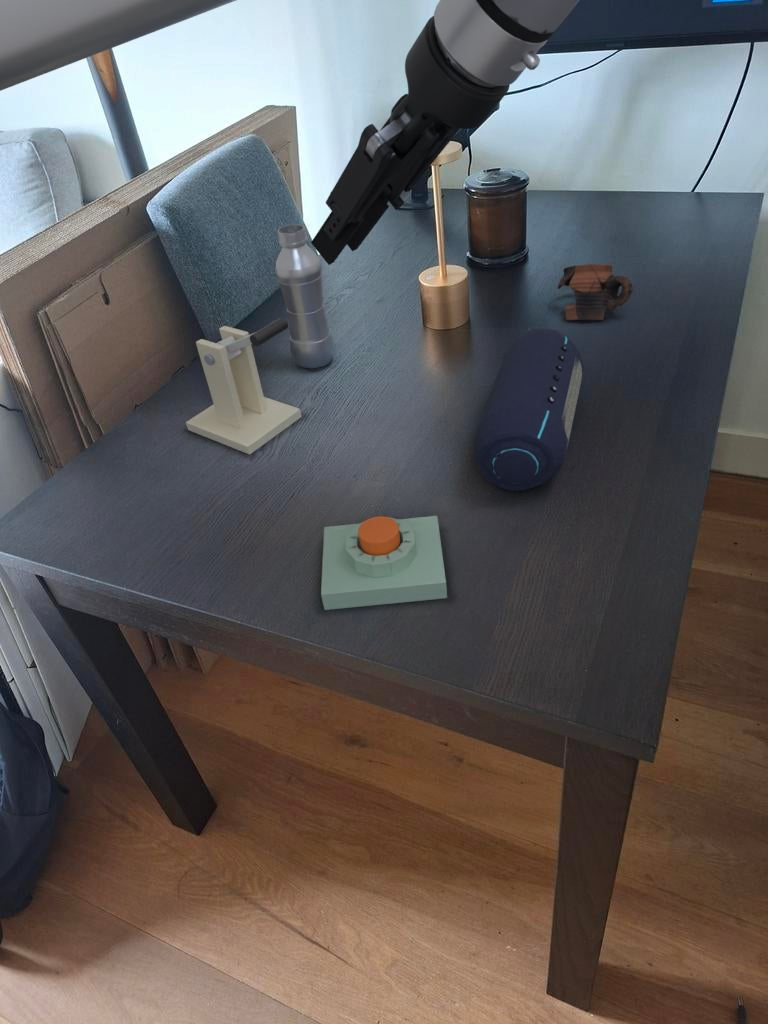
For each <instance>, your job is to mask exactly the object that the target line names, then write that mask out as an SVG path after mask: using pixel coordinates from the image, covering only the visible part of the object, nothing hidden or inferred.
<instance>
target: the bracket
mask: <svg viewBox="0 0 768 1024" xmlns="http://www.w3.org/2000/svg"><path fill="white" fill-rule="evenodd" d="M218 330H219V334H220V337H221V340H223V339H225V338H227V337H230V336H233V337H234V339H235V341H236V340H239V339H241V338H243V337H246V336H248V335H250V333H249V332H248V331H246V330H242V329H238V328H235V327H231V326H227V325H223V326H221V327H219V328H218ZM195 345H196V349H197V352H198V355H199V360H200V362H201V365H202V368H203V373H204V376H205V379H206V383H207V386H208V388H209V389H208V390H209V393H210V397H211V400H212V404H211V405H210V406H209V407H207V408H205V409H204V410H202V411H201V412H199V413H197V414H196V415H194V416H193V417H192V418H190V419H188V420H187V421H186V422H185V425H186V428H187V430H188V431H189V432H192V433H194V434H197V435H199V436H202V437H204V438H207V439H210V440H212V441H215V442H217V443H219V444H222V445H224V446H227V447H229V448H232V449H234V450H237V451H239V452H242V453H245V454H246V455H252V454H253V453H254V452H255V451H257V450H259V449H260V448H261V447H263V446H265V444H267V443H268V442H270V441H271V440H272V439H273V438H275V437H277V436H278V435H279V434H281V433H282V432H284V431H285V430H286V429H287V428H289V427H290V426H292V425H293V424H294V423H296V422H297V421H299V420H300V419H301V418H302V417H303V416H302V411H301V408H298V407H296V406H293V405H290V404H286V403H285V402H284V403H283V402H281V401H277V400H275V399H272V398H270V397H266V396H264V392H263V388H262V383H261V380H260V379H261V378H260V376H259V372H258V367H257V363H256V359H255V354H254V350H253V347H252V346H253V345H252V344H251V345H249V346H246V347H244V348H241V349H240V350H241V352H242V353H241V354H239V355H237V356H236V357H234V358H232V359H231V360H229V359H228V355H227V352H226V348H225V346H223V345H220V344H217V342H213V341H210V340H208V339H207V340H206V339H203V338H201V339H199V340H196V341H195Z"/></svg>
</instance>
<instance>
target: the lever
mask: <svg viewBox="0 0 768 1024" xmlns="http://www.w3.org/2000/svg"><path fill="white" fill-rule="evenodd" d="M288 327H289V322H288V321H287V319H285V318H284V317H279V318H277V319H276V320H274V321H272V322H271V323H269V324H267V325H266V326H264V327H261V328H260V329H259V330H257V331H255V332H253V333H249V335H248V336H246V337H243V338H241V339H239V340H236V341H235V339H234V337H233V336H230V337H227V338H225V339H223V340H222V339H221V340H219V341H217V342H216V343H217V344H220V345H223V346H225V348H226V352H227V355H228V359H229V360H231V359H232V358H234V357H236V356H237V355H239V354H241V353H242V352H241V350H240V349H241V348H244V347H246V346H249V345H251V346H254V347H259V346H261V345H262V344H265V343H266V342H267V341H269V340H270V339H273V338H274V337H275V336H277V335H279V334H280V333H282V332H283V331H286V330H287V329H288Z"/></svg>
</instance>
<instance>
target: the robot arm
mask: <svg viewBox="0 0 768 1024" xmlns="http://www.w3.org/2000/svg"><path fill="white" fill-rule="evenodd" d="M236 1H237V0H0V91H4V90H7V89H8V88H11V87H12V88H13V87H14V86H17V85H20V84H21V83H24V82H27V81H30V80H32V79H34V78H38V77H40V76H43V75H45V74H48V73H50V72H54V71H56V70H58V69H61V68H63V67H66V66H69V65H72V64H74V63H77V62H79V61H82V60H85V59H87V58H89V57H92V56H95V55H98V54H100V53H103V52H105V51H108V50H111V49H114V48H116V47H119V46H121V45H123V44H126V43H129V42H131V41H134V40H137V39H139V38H142V37H145V36H148V35H150V34H152V33H155V32H158V31H160V30H163V29H165V28H168V27H171V26H173V25H176V24H178V23H181V22H183V21H186V20H189V19H192V18H194V17H198V16H200V15H202V14H205V13H208V12H209V11H213V10H215V9H218V8H220V7H223V6H225V5H229V4H232V3H233V2H236ZM580 1H581V0H439V1H438V3H437V4H436V6H435V9H434V12H433V15H432V16H431V17H430V18H429V19H428V20H427V21H426V23H425V24H424V27H423V28H422V30H421V31H420V33H419V34H418V36H417V37H416V39H415V41H414V43H413V44H412V46H411V47H410V49H409V50H408V52H407V55H406V56H405V62H404V73H405V79H406V83H407V93H404V94H403V95H402V96H400V98H399V99H398V100H397V102H396V103H394V105H393V106H392V109H391V111H390V112H391V113H390V116H389V117H388V119H387V120H386V121H385V122H384V124H383V125H382V127H381V128H380V130H378V128H377V126H375V125H374V124H373V123H371V124H368V125H366V127H364V128H363V131H362V132H361V134H360V137H359V141H358V145H357V147H356V149H355V150H354V151H353V154H352V155H351V157H350V159H349V161H348V162H347V164H346V166H345V167H344V170H343V171H342V173H341V174H340V177H339V178H338V180H337V182H335V185H334V186H333V189H331V191H330V192H329V195H328V197H327V199H326V200H325V204H326V206H327V207H328V208H329V210H330V211H331V212H330V213H329V214H328V216H327V218H326V219H325V220H324V222H323V224H322V225H321V226H320V228H319V230H318V231H317V233H316V234H315V235H314V237H313V239H312V240H311V242H310V244H311V245H312V246H313V247H314V249H315V250H316V251H317V253H318V255H320V256H321V257H322V259H323V260H324V261H325V262H326V264H327V265H328V266H330V265H331V264H334V263H335V261H337V259H338V257H339V256H340V255H341V253H342V252H343V251H344V249H345V248H346V246H347V247H348V248H349V249H350V251H352V252H354V251H356V250H358V248H360V247H361V244H362V243H363V242H364V241H365V240H366V238H367V237H368V236H369V234H370V233H371V231H372V230H373V229H374V227H375V226H376V225H377V224H378V222H379V221H380V219H381V218H382V217H383V215H385V213H386V211H387V210H388V209H389V208H390V206H389V204H388V203H390V205H391V206H392V208H393V209H394V210H395V211H396V210H398V209H400V208H401V207H402V206H403V205H404V204H405V201H404V199H403V198H402V197H401V195H402V193H403V192H405V193H407V192H410V191H412V190H413V189H414V186H415V185H416V184H417V183H418V181H419V180H420V179H421V178H422V176H423V175H424V174H425V173H426V172H427V171H428V169H429V168H430V167H431V166H432V164H433V163H434V162H435V160H436V159H437V158H438V157H439V155H440V154H442V151H444V149H445V148H446V147H447V145H448V144H449V143H450V142H451V141H452V139H453V138H454V137H455V136H456V135H457V134H458V132H459V131H460V130H472V129H474V128H477V127H479V126H480V125H482V124H483V123H484V122H485V121H486V120H487V118H488V117H489V116H490V115H491V113H492V112H494V110H495V109H496V107H498V105H499V104H500V102H501V101H502V100H503V99H504V97H505V96H506V95H507V93H508V92H509V89H510V86H511V85H512V84H513V83H515V82H516V81H517V80H518V79H519V77H520V76H521V75H522V73H523V72H524V71H525V70H526V68H527V69H528V70H530V71H534V70H536V69H537V68H538V66H539V65H540V62H541V59H540V57H539V55H538V52H539V51H540V49H541V48H543V47H544V46H545V44H546V43H547V42H548V41H549V39H550V38H551V37H552V36H553V35H554V34H555V32H556V31H557V29H559V27H560V26H561V24H562V23H563V22H564V20H565V19H567V17H568V15H570V13H572V11H573V9H574V8H575V7H576V6H577V5H578V3H579V2H580Z"/></svg>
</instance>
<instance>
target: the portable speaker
mask: <svg viewBox="0 0 768 1024" xmlns="http://www.w3.org/2000/svg"><path fill="white" fill-rule="evenodd" d="M584 368H585V367H584V362H583V358H582V355H581V352H580V351H579V349H578V347H577V345H576V344H575V343H574V342H573V341H572V340H571V339H570V338H569V337H567V336H566V335H565V334H563V333H561V332H559V331H558V330H556V329H551V328H546V327H545V328H544V327H543V328H541V327H540V328H535V329H531V330H529V331H526V332H524V333H523V334H521V335H520V336H519V337H517V339H516V340H515V341H514V342H513V343H511V345H510V347H509V349H508V350H507V352H506V353H505V355H504V356H503V359H502V361H501V365H500V367H499V370H498V372H497V375H496V379H495V381H494V383H493V386H492V389H491V392H490V395H489V397H488V401H487V403H486V405H485V408H484V411H483V414H482V416H481V419H480V422H479V425H478V427H477V429H476V433H475V442H474V443H475V445H474V459H475V462H476V465H477V468H478V471H479V473H480V474H481V475H482V476H483V478H484V479H485V480H486V481H487V483H489V484H491V485H493V486H494V487H496V488H499V489H503V490H506V491H512V492H518V491H519V492H521V491H528V490H530V489H533V488H536V487H539V486H541V485H542V484H544V483H546V482H548V481H549V480H551V479H552V478H553V477H555V476H556V475H557V473H558V472H560V470H561V469H562V466H563V464H564V463H565V459H566V456H567V451H568V447H569V443H570V438H571V433H572V428H573V422H574V418H575V413H576V408H577V403H578V399H579V396H580V395H579V394H580V389H581V384H582V380H583V373H584Z"/></svg>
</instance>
